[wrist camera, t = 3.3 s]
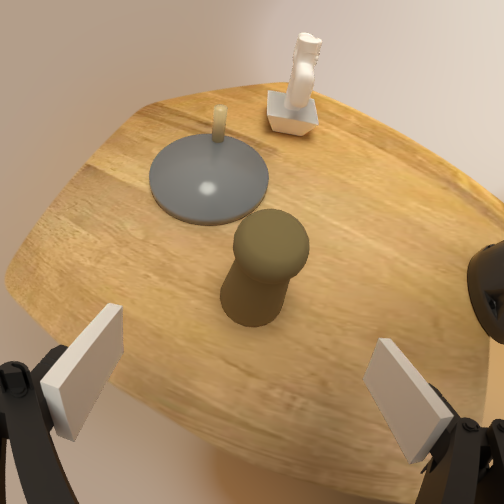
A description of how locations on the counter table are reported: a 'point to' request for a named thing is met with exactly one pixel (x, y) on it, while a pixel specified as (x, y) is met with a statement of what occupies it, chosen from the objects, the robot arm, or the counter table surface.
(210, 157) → the coaster plate
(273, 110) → the figurine
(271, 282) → the brown rounded upright piece
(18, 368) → the robot arm
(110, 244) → the counter table surface
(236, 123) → the counter table surface
